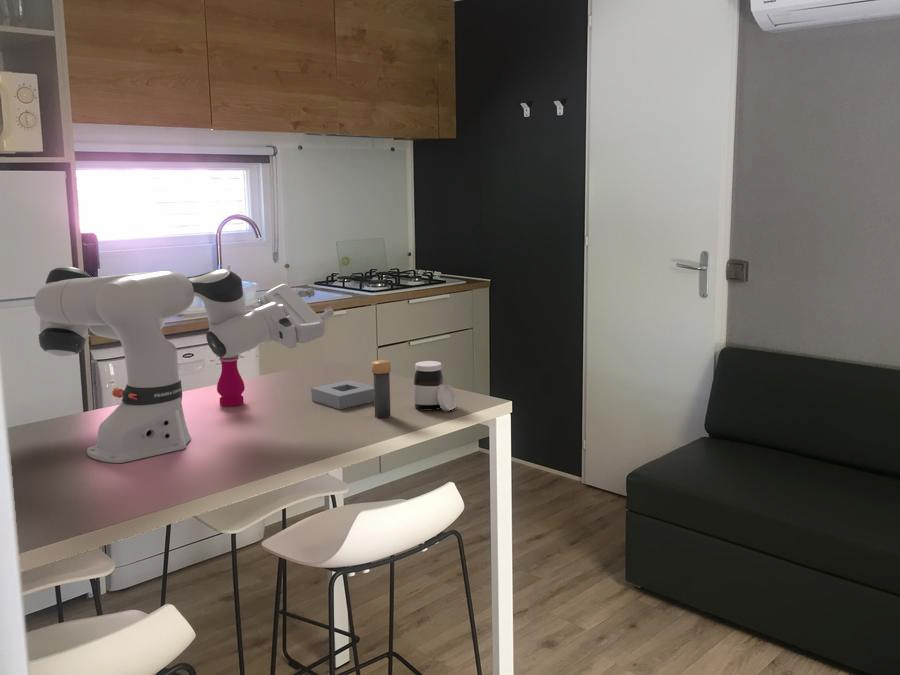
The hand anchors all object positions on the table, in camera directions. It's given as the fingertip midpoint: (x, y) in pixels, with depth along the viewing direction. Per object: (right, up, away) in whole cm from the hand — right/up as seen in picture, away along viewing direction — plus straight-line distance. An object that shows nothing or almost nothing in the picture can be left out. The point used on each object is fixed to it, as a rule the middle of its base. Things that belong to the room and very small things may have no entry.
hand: (322, 300), depth 214 cm
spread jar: (+29, -28, +7) cm, 41 cm away
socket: (+4, -26, +16) cm, 31 cm away
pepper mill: (-27, -27, +14) cm, 41 cm away
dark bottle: (+15, -29, 0) cm, 33 cm away
